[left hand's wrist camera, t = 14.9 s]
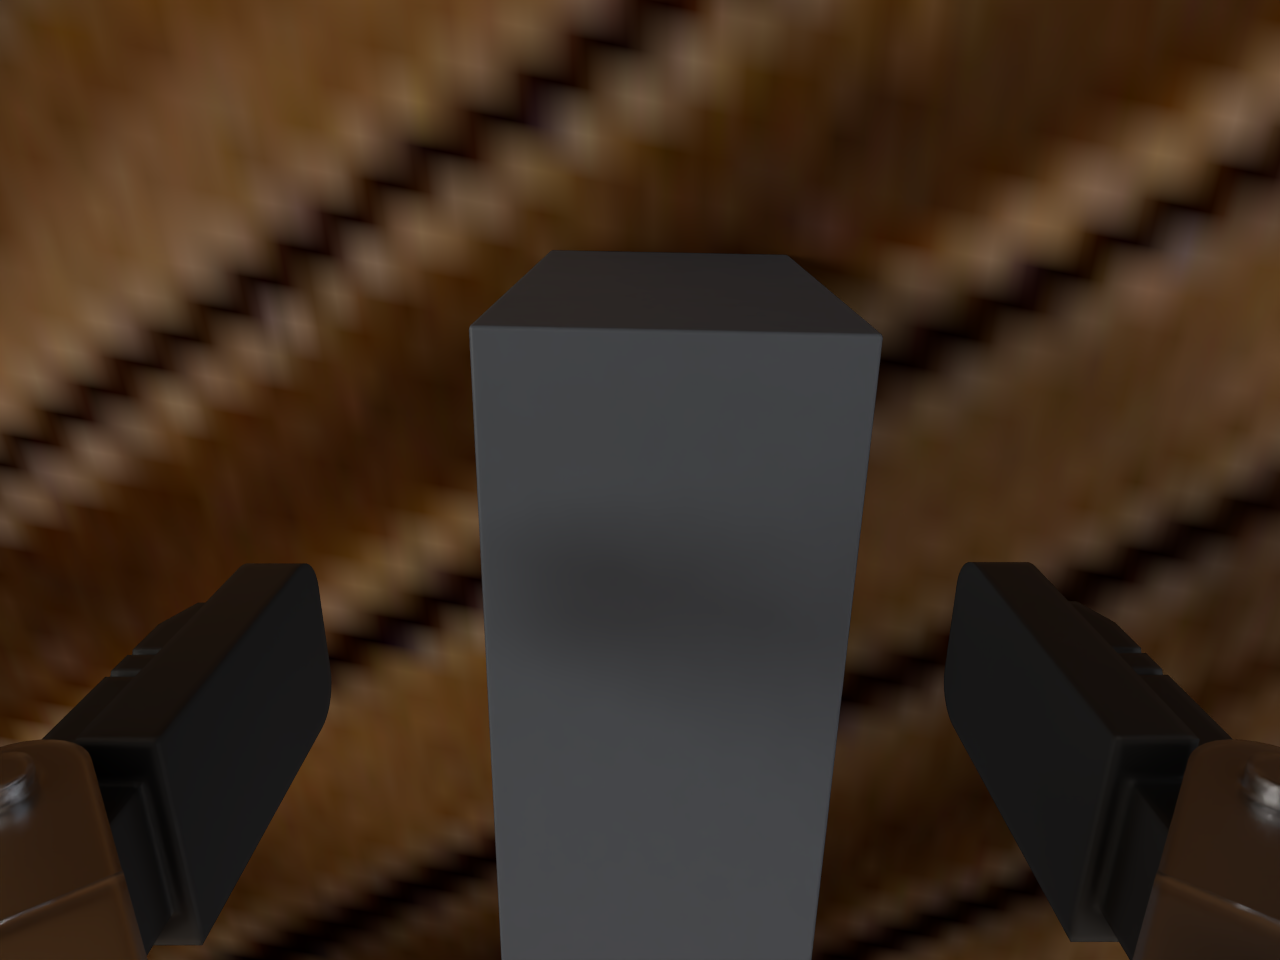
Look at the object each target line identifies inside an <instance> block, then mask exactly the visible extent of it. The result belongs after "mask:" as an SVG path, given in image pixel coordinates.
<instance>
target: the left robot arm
mask: <svg viewBox="0 0 1280 960" xmlns="http://www.w3.org/2000/svg"><path fill="white" fill-rule="evenodd" d="M944 692H945V701H946V706H947V711H948V714H949V717H950V720H951V723H952V725H953V727H954V729H955V730H956V732H957V734H958V736H959V738H960V740H961V741H962V743H963V745H964V747H965V749H966V751H967V752H968V754H969V756H970V758H971V760H972V762H973V763H974V765H975V767H976V769H977V771H978V773H979V774H980V776H981V778H982V780H983V782H984V784H985V785H986V787H987V789H988V791H989V793H990V795H991V796H992V798H993V800H994V802H995V804H996V806H997V808H998V809H999V811H1000V813H1001V815H1002V817H1003V819H1004V820H1005V822H1006V824H1007V826H1008V828H1009V830H1010V831H1011V833H1012V835H1013V837H1014V839H1015V841H1016V842H1017V844H1018V846H1019V848H1020V850H1021V852H1022V853H1023V855H1024V857H1025V859H1026V861H1027V863H1028V864H1029V866H1030V868H1031V870H1032V872H1033V874H1034V875H1035V877H1036V879H1037V881H1038V883H1039V885H1040V886H1041V888H1042V890H1043V892H1044V894H1045V896H1046V897H1047V899H1048V901H1049V903H1050V905H1051V907H1052V908H1053V910H1054V912H1055V914H1056V916H1057V918H1058V920H1059V921H1060V923H1061V925H1062V927H1063V929H1064V931H1065V932H1066V934H1067V936H1068V938H1069V940H1070V942H1120V944H1121V946H1122V947H1123V949H1124V951H1125V952H1126V954H1127V956H1128V957H1129V959H1130V960H1280V747H1278V746H1274V745H1270V744H1265V743H1260V742H1255V741H1247V740H1233V739H1232V738H1231V737H1230V736H1229V735H1228V734H1227V733H1226V732H1225V731H1224V730H1223V729H1222V728H1221V727H1220V726H1219V725H1218V724H1217V723H1216V722H1215V721H1214V720H1213V719H1212V718H1211V717H1210V716H1209V715H1208V714H1207V713H1206V712H1205V711H1204V710H1203V709H1202V708H1201V707H1200V706H1199V705H1198V704H1197V703H1196V702H1195V701H1194V700H1193V699H1192V698H1191V697H1190V696H1189V695H1188V694H1187V693H1186V692H1185V691H1184V690H1183V689H1182V688H1181V687H1180V686H1178V685H1177V684H1176V683H1175V682H1174V681H1173V680H1172V679H1171V678H1170V677H1169V676H1168V675H1163V674H1162V669H1161V668H1160V667H1159V666H1158V665H1157V664H1156V663H1155V662H1154V661H1153V660H1152V659H1151V658H1150V657H1149V656H1148V655H1147V654H1146V653H1141V648H1140V647H1139V646H1138V645H1137V644H1136V643H1135V642H1134V641H1133V640H1132V639H1131V638H1130V637H1129V636H1128V635H1127V634H1126V633H1125V632H1124V631H1123V630H1122V629H1121V628H1120V627H1119V626H1118V625H1117V624H1116V623H1115V622H1113V621H1111V620H1109V619H1108V618H1106V617H1104V616H1102V615H1100V614H1098V613H1097V612H1095V611H1093V610H1091V609H1089V608H1088V607H1086V606H1084V605H1082V604H1080V603H1079V602H1077V601H1068V600H1067V599H1066V598H1065V597H1064V596H1063V595H1062V594H1061V593H1060V592H1059V591H1058V590H1057V589H1056V588H1055V587H1054V586H1053V585H1052V584H1051V582H1050V581H1049V580H1048V579H1047V578H1046V577H1045V576H1044V575H1043V574H1042V573H1041V572H1040V571H1039V570H1038V569H1037V568H1036V567H1035V566H1034V565H1033V564H1031V563H1029V562H968V563H966V564H965V565H964V566H963V567H962V569H961V571H960V573H959V577H958V581H957V586H956V594H955V601H954V608H953V615H952V622H951V629H950V636H949V643H948V651H947V658H946V665H945V673H944ZM330 698H331V671H330V664H329V657H328V650H327V643H326V636H325V629H324V622H323V615H322V608H321V601H320V594H319V587H318V582H317V578H316V574H315V572H314V570H313V568H312V567H311V566H310V565H309V564H244V565H242V566H241V567H240V568H239V569H238V570H237V571H236V572H235V573H234V574H233V575H232V576H231V577H230V578H229V579H228V580H227V581H226V582H225V583H224V584H223V585H222V586H221V587H220V588H219V589H218V590H217V592H216V593H215V594H214V595H213V596H212V597H211V598H210V599H209V600H208V601H207V602H206V603H197V604H195V605H193V606H191V607H189V608H188V609H186V610H184V611H182V612H180V613H179V614H177V615H175V616H173V617H171V618H170V619H168V620H166V621H164V622H162V623H160V624H159V625H158V626H157V627H156V628H155V629H154V630H153V631H152V632H151V633H149V634H148V635H147V636H146V637H145V638H144V639H143V640H142V641H141V642H140V643H139V644H138V645H137V646H136V647H135V648H134V649H133V654H132V655H127V656H126V657H125V658H124V659H123V660H122V661H121V662H120V663H119V664H118V665H117V666H116V667H115V668H114V669H113V670H112V671H111V676H110V677H105V678H104V679H103V680H102V681H101V682H100V683H99V684H98V685H97V686H96V687H95V688H94V689H93V690H92V691H91V692H89V693H88V694H87V695H86V696H85V697H84V698H83V699H82V700H81V701H80V702H79V703H78V704H77V705H76V706H75V707H74V708H73V709H72V710H71V711H70V712H69V713H68V714H67V715H66V716H65V717H64V718H63V719H62V720H61V721H60V722H59V723H58V724H57V725H56V726H55V727H54V728H53V729H52V730H51V731H50V732H49V733H48V734H47V735H46V736H45V737H44V738H43V739H42V740H33V741H25V742H20V743H15V744H10V745H6V746H2V747H0V960H147V955H148V953H149V951H150V950H151V948H152V946H153V945H203V943H204V941H205V939H206V937H207V936H208V934H209V932H210V930H211V928H212V927H213V925H214V923H215V921H216V919H217V917H218V916H219V914H220V912H221V910H222V908H223V907H224V905H225V903H226V901H227V899H228V897H229V896H230V894H231V892H232V890H233V888H234V887H235V885H236V883H237V881H238V879H239V878H240V876H241V874H242V872H243V870H244V868H245V867H246V865H247V863H248V861H249V859H250V858H251V856H252V854H253V852H254V850H255V849H256V847H257V845H258V843H259V841H260V839H261V838H262V836H263V834H264V832H265V830H266V829H267V827H268V825H269V823H270V821H271V819H272V818H273V816H274V814H275V812H276V810H277V809H278V807H279V805H280V803H281V801H282V800H283V798H284V796H285V794H286V792H287V790H288V789H289V787H290V785H291V783H292V781H293V780H294V778H295V776H296V774H297V772H298V771H299V769H300V767H301V765H302V763H303V761H304V760H305V758H306V756H307V754H308V752H309V751H310V749H311V747H312V745H313V743H314V741H315V740H316V738H317V736H318V734H319V732H320V731H321V729H322V727H323V725H324V723H325V720H326V717H327V713H328V709H329V705H330Z"/></svg>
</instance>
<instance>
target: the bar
mask: <svg viewBox="0 0 1280 960" xmlns="http://www.w3.org/2000/svg"><path fill="white" fill-rule="evenodd" d="M469 336H470V355H471V375H472V394H473V413H474V433H475V452H476V472H477V491H478V511H479V530H480V550H481V569H482V589H483V608H484V628H485V647H486V666H487V686H488V705H489V725H490V744H491V764H492V783H493V803H494V822H495V842H496V861H497V881H498V900H499V919H500V939H501V958H502V960H811V958H812V949H813V941H814V932H815V923H816V914H817V906H818V897H819V888H820V880H821V871H822V862H823V853H824V845H825V836H826V827H827V819H828V810H829V801H830V792H831V784H832V775H833V766H834V757H835V749H836V740H837V731H838V723H839V714H840V705H841V696H842V688H843V679H844V670H845V662H846V653H847V644H848V635H849V627H850V618H851V609H852V600H853V592H854V583H855V574H856V566H857V557H858V548H859V539H860V531H861V522H862V513H863V505H864V496H865V487H866V478H867V470H868V461H869V452H870V443H871V435H872V426H873V417H874V409H875V400H876V391H877V382H878V374H879V365H880V356H881V348H882V339H883V337H882V334H880V333H879V332H878V331H877V330H876V329H874V328H873V327H872V326H871V325H870V324H869V323H867V322H866V321H865V320H864V319H863V318H861V317H860V316H859V315H858V314H857V313H855V312H854V311H853V310H852V309H851V308H849V307H848V306H847V305H846V304H845V303H844V302H842V301H841V300H840V299H839V298H838V297H836V296H835V295H834V294H833V293H832V292H830V291H829V290H828V289H827V288H826V287H824V286H823V285H822V284H821V283H820V282H819V281H817V280H816V279H815V278H814V277H813V276H811V275H810V274H809V273H808V272H807V271H805V270H804V269H803V268H802V267H801V266H799V265H798V264H797V263H796V262H795V261H794V260H792V259H791V258H790V257H789V256H787V255H760V254H710V253H659V252H609V251H559V250H552V251H551V252H549V253H548V254H547V255H546V256H545V257H544V258H543V259H542V260H541V261H540V262H539V263H538V264H536V265H535V266H534V267H533V268H532V269H531V270H530V271H529V272H528V273H527V274H526V275H525V276H524V277H522V278H521V279H520V280H519V281H518V282H517V283H516V284H515V285H514V286H513V287H512V288H511V289H509V290H508V291H507V292H506V293H505V294H504V295H503V296H502V297H501V298H500V299H499V300H498V301H497V302H495V303H494V304H493V305H492V306H491V307H490V308H489V309H488V310H487V311H486V312H485V313H484V314H483V315H481V316H480V317H479V318H478V319H477V320H476V321H475V322H474V323H473V324H472V325H471V326H470V328H469Z"/></svg>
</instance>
